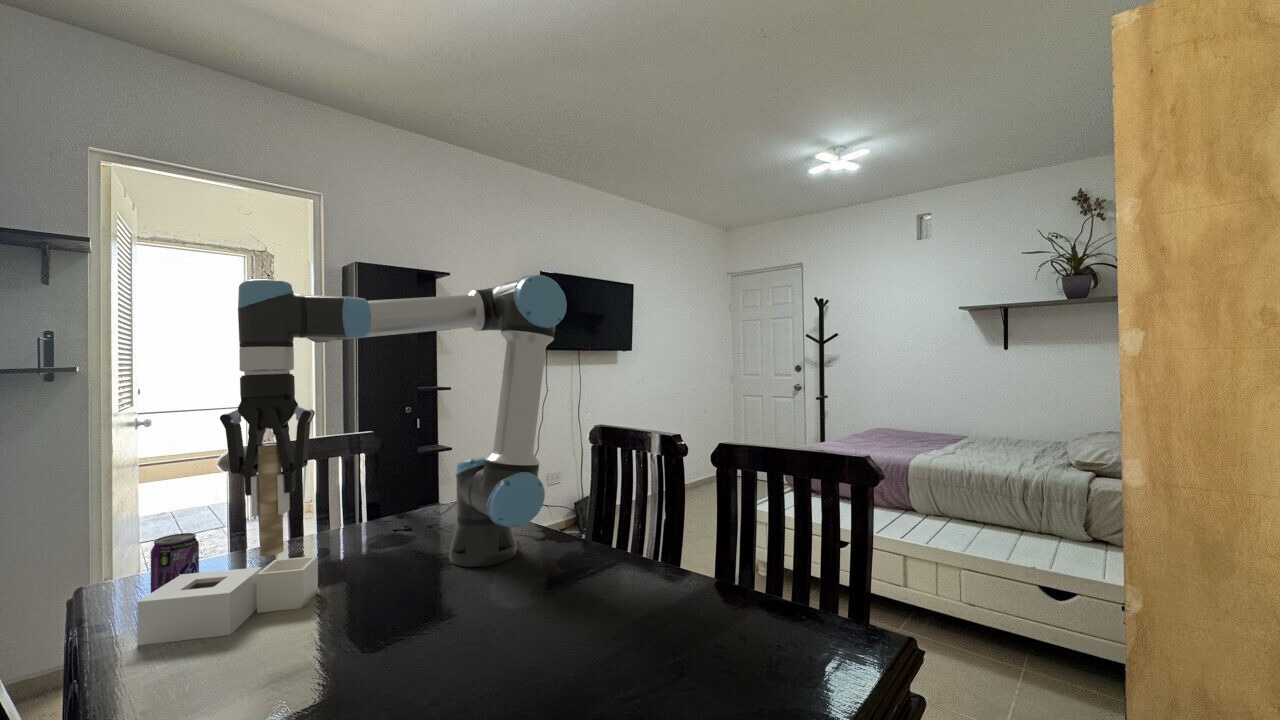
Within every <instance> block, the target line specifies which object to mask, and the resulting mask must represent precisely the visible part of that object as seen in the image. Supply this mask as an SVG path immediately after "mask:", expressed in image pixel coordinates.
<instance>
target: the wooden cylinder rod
mask: <svg viewBox="0 0 1280 720" xmlns="http://www.w3.org/2000/svg"><path fill="white" fill-rule="evenodd" d="M281 472H282V467H281V462H280V457H279V452H278V448H277V443H266V444H265V443H264V444H262V445H259V446H258V473H257V474H258V477H259V515H258V517H259V546H260V547H259V551H260V556H261V557H269V556H271V557H272V556H275V555H279V554H281V553H284V549H285V548H284V518H283V517H284V514H280V515H278V485H277V475H279V474H281Z"/></svg>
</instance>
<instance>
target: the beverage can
mask: <svg viewBox="0 0 1280 720" xmlns="http://www.w3.org/2000/svg"><path fill="white" fill-rule="evenodd" d="M196 536H197V535H196V533H193V532H182V533H175V534H174V533H173V534H170V535H165V536H161V537H159V538H157V539H154V540H153V543H154V544H153V546H152V548H151V550H150V594H151V593H152V592H154V591H155V590H157V589H159V588H160V587H162V586H163V585H165V584H167V583H168V582H170V581H171V580H173V579H175V578H176V577H178V576H179V575H181V574H191V573H200V543H199V541H198V540H197V538H196Z"/></svg>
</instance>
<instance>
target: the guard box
mask: <svg viewBox="0 0 1280 720" xmlns="http://www.w3.org/2000/svg"><path fill="white" fill-rule="evenodd" d="M261 570H263V567H262V566H261V567H249V568H238V569H237V568H236V569H225V570H215V571H213V570H212V571H205V572H204V571H203V572H199V573H191V574H181V575H179V576H178V577H176V578H175V579H173V580H171V581H170V582H168V583H167V584H165V585H163V586H162V587H160V588H159V589H157V590H155V591H154V592H152V593H151V592H150V593H149V594H148V595H146V596H144V597H142V598H141V599H139V600H138V601H137V602H136V603H137V605H136V606H137V607H136V608H137V611H136V613H137V614H136V617H137V618H136V621H137V623H136V624H137V626H136V627H137V628H136V630H137V635H136V636H137V641H136V642H137V644H136V645H137V646H143V645H144V646H145V645H153V644H161V643H169V642H178V641H179V642H180V641H186V640H197V639H205V638H213V637H224V636H230V635H232V634H233V633H234V632H235V631H236V630H237V629H238V628H239V627H240V626H241V625H242V624H243V623H245V622H246V620H247V619H249V618H250V616H252V615H253V614H254V613H255V612H257V574H258V573H259V572H260V571H261ZM208 586H214V587H210V588H203V587H208Z"/></svg>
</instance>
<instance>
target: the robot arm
mask: <svg viewBox="0 0 1280 720" xmlns="http://www.w3.org/2000/svg"><path fill="white" fill-rule="evenodd" d="M238 285H239V286H238V299H237V301H238V302H237V314H238V315H237V316H238V317H237V318H238V319H237V321H238V344H239V345H238V346H239V347H238V348H239V350H238V351H239V371H240V372H242V373H244V374H243V375H241V377H239V392H240V393H239V396H240V403H239V404H238V406H237V409H236V410H234V411H231V412H228V413H224V414H221V415H220V417H219V419H220V423H221V424H222V425H223V427H224V428H225V435H226V437H225V438H226V446H227V451H228V452H227V454H228V461H229V463H228V464H229V469H230V473H231V474H236V475H237V474H238V475H241V476H243V479H244V494H245V496H246V497H247V496H250V497H251V518H252V517H254V518H255V517H259V477H258V446H259V445H263V441H264V435H265V433H266V429H271V430H272V433H273V435H274V438H275V444H277V448H278V452H279V457H280V462H281V468H282V472H281V474H279V475H277V485H278V515H280V514H283V515H284V514H285V513H287V512H289V511H291V508H290V507H291V506H290V504H291V503H290V494H291V493H292V492H294V491H295V489H296V472H297V471H298V470H301V469H303V468H305V467H306V466H308V464H309V463H308V461H309V448H310V446H309V445H310V431H311V423H312V420H313V418H314V416H315V414H316V412H315V410H314V409H306V408H303V407H301V406H299V403H298V402H297V400H296V397H295V395H296V393H295V392H296V389H295V387H296V385H295V382H296V381H295V375H294V374H293V373H290V372H291V371H294V369H295V357H294V356H295V354H294V353H295V352H294V350H295V349H294V348H295V347H294V338H299V339H305V338H306V339H307V340H310V341H312V342H315V343H317V344H319V343H328V342H332V341H341V340H351V339H352V340H353V339H362V338H370V337H382V336H383V337H385V336H391V335H392V336H394V335H395V336H396V335H404V334H413V333H416V334H417V333H424V332H425V333H428V332H435V331H436V332H438V331H445V330H446V331H447V330H448V331H449V330H456V329H457V330H458V329H467V328H468V329H469V328H471V329H473V330H474V331H475V332H483V331H500V335H502V337H503V338H504V340H505V341H506V346H505V354H504V362H503V369H502V370H503V371H502V379H501V387H500V393H499V394H500V395H499V402H498V409H497V419H496V425H495V435H494V441H493V442H494V443H493V449H492V452H491V453H489V454H488V455H487V456H483V457H482V456H481V457H474V458H468V459H467V458H466V459H462V460H460V461H459V462H458V463H457V464H456V473H455V478H456V528H455V531H454V534H453V537H452V540H451V543H450V547H449V558H448V559H449V561H450V563H451V564H454V565H456V566H459V567H469V568H471V567H472V568H475V567H476V568H478V567H486V566H492V565H498V564H500V563H501V564H502V563H503V562H506V561H509V560H511V559H512V558H514V557H515V556H516V554H517V540H516V538H515V535H514V532H513V530H512V528H519V527H523V526H525V525H527V524H529V523H531V521H533V520H534V518H535V517H537V516H538V515H539V513H540V511H541V510H542V507H543V505H544V501H545V497H546V492H545V487H544V484H543V483H542V480H541V479H540V478H539V471H540V470H539V468H540V461H539V459H537V458H536V456H535V454H534V450H535V442H536V435H537V434H536V432H537V426H538V425H537V424H538V417H539V416H538V415H539V408H540V398H541V391H542V383H543V375H544V366H545V359H546V358H545V357H546V349H547V347H548V346H549V344H551V343H552V342H553V341H554V340H555V332H556V326H557V325H558V324H560V323H561V321H562V320H563V319H564V317H565V315H566V313H567V306H568V303H567V298H566V295H565V292H564V290H562V289H563V288H561V286H560V285H559V284H558V283H557V282H556V281H555V280H554V279H553V278H551V277H548V276H546V275H541V274H533V275H525V276H523V277H521V278H520V279H516V280H512V281H508V282H504V283H502V284H499V285H497V286H493V287H489V288H488V287H487V288H485V289H484V288H483V289H474V290H473V289H472V290H471V291H469V292H468V294H463V295H462V294H459V295H445V296H429V297H428V296H427V297H410V298H394V299H375V300H367V299H366V298H365V297H364V298H362V297H354V296H350V295H346V296H336V295H333V296H332V295H311V294H310V295H309V294H298V293H295V292H294V290H293V286H292V284H291V283H290V282H288V281H284V280H275V279H267V278H265V279H263V278H261V279H257V278H254V279H247V280H244V281H242V282H241V283H240V284H238ZM294 415H295V419H296V420H297V426H296V436H295V437H296V438H295V452H293V446H292V441H291V436H290V427H289V426H290V425H289V421H290V420H291V419H292V418H293V416H294ZM242 418H243V419H244V420H245V421H246V423H247V424H248V431H247V434H248V441H247V446H246V452H245V450H244V440H243V434H242V433H243V431H242V426H241V422H242ZM294 453H295V454H294Z"/></svg>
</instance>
